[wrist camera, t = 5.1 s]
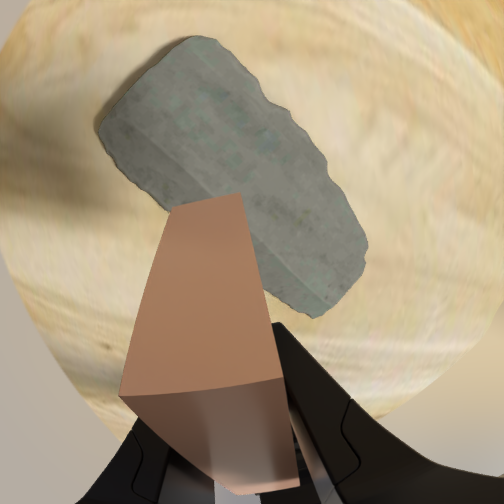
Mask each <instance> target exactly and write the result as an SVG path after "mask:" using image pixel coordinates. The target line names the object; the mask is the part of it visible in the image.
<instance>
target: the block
mask: <svg viewBox="0 0 504 504" xmlns="http://www.w3.org/2000/svg"><path fill="white" fill-rule="evenodd" d="M119 397H120V398H121V399H122V400H123V401H124V402H125V404H126V405H127V406H128V407H129V408H130V409H131V410H132V411H133V412H134V413H135V414H136V415H137V416H138V417H139V418H140V419H141V420H142V421H143V422H144V423H145V424H146V425H148V426H149V427H150V428H151V429H152V430H153V431H154V432H155V433H156V434H157V435H158V436H159V437H161V438H162V439H163V440H164V441H165V442H166V443H167V444H169V445H170V446H171V447H172V448H173V449H174V450H176V451H177V452H178V453H179V454H180V455H182V456H183V457H184V458H185V459H187V460H188V461H189V462H190V463H192V464H193V465H194V466H196V467H197V468H198V469H200V470H201V471H202V472H204V473H205V474H206V475H208V476H209V477H210V478H212V479H213V480H215V481H216V482H218V483H219V484H221V485H222V486H224V487H225V488H227V489H228V490H229V491H231V492H233V493H234V494H236V495H245V494H254V493H262V492H269V491H275V490H281V489H287V488H292V487H297V486H300V482H299V475H298V468H297V462H296V455H295V448H294V442H293V435H292V429H291V422H290V416H289V409H288V403H287V396H286V390H285V384H284V377H283V373H282V369H281V364H280V360H279V356H278V351H277V347H276V343H275V338H274V334H273V330H272V325H271V321H270V317H269V312H268V308H267V304H266V300H265V295H264V291H263V287H262V282H261V278H260V274H259V269H258V265H257V261H256V257H255V252H254V248H253V244H252V240H251V235H250V231H249V227H248V222H247V218H246V214H245V210H244V205H243V201H242V197H241V193H240V192H239V193H234V194H229V195H224V196H220V197H215V198H210V199H206V200H201V201H197V202H192V203H188V204H183V205H179V206H175V207H172V209H171V212H170V215H169V217H168V220H167V223H166V226H165V228H164V231H163V234H162V237H161V240H160V243H159V246H158V249H157V252H156V255H155V258H154V261H153V264H152V267H151V270H150V274H149V277H148V280H147V283H146V287H145V290H144V293H143V297H142V300H141V304H140V307H139V311H138V315H137V318H136V322H135V326H134V330H133V334H132V337H131V341H130V346H129V350H128V354H127V358H126V362H125V367H124V371H123V376H122V381H121V386H120V391H119Z"/></svg>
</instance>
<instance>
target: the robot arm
mask: <svg viewBox="0 0 504 504" xmlns="http://www.w3.org/2000/svg"><path fill="white" fill-rule="evenodd" d="M271 325H272V330H273V334H274V338H275V343H276V347H277V351H278V356H279V360H280V364H281V369H282V373H283V377H284V384H285V390H286V396H287V403H288V409H289V416H290V422H291V429H292V435H293V442H294V448H295V455H296V462H297V468H298V475H299V482H300V486H297V487H292V488H287V489H281V490H275V491H269V492H262V493H255V495H260V500H261V504H504V474H502V475H501V476H499V477H494V476H489V475H483V474H478V473H473V472H468V471H464V470H459V469H456V468H451V467H448V466H444V465H441V464H437V463H435V462H433V461H431V460H429V459H427V458H426V457H424V456H422V455H421V454H420V453H418V452H416V451H415V450H414V449H412V448H411V447H410V446H408V445H407V444H405V443H404V442H403V441H401V440H400V439H399V438H397V437H396V436H395V435H393V434H392V433H391V432H389V431H388V430H387V429H385V428H384V427H383V426H382V425H380V424H379V423H378V422H377V421H376V420H374V419H373V418H372V417H371V416H370V415H369V414H368V413H367V412H366V411H365V410H364V409H363V408H362V407H361V406H360V405H359V404H358V403H357V402H356V401H355V400H354V399H351V396H350V395H349V394H348V393H347V392H346V391H345V390H344V389H343V388H342V387H341V386H340V385H339V384H338V383H337V382H336V381H335V380H334V379H333V378H332V376H331V375H330V374H329V373H328V372H327V371H326V370H325V369H324V368H323V367H322V366H321V365H320V364H319V363H318V362H317V361H316V360H315V359H314V357H313V356H312V355H311V354H310V353H309V352H308V351H307V350H306V349H305V348H304V347H303V346H302V345H301V344H300V342H299V341H298V340H297V339H296V338H295V337H294V336H293V335H292V334H291V333H290V332H289V331H288V330H287V328H286V327H285V326H284V325H283V324H282V323H281V322H276V323H271ZM75 504H215V493H214V480H213V479H212V478H210V477H209V476H208V475H206V474H205V473H204V472H202V471H201V470H200V469H198V468H197V467H196V466H194V465H193V464H192V463H190V462H189V461H188V460H187V459H185V458H184V457H183V456H182V455H180V454H179V453H178V452H177V451H176V450H174V449H173V448H172V447H171V446H170V445H169V444H167V443H166V442H165V441H164V440H163V439H162V438H161V437H159V436H158V435H157V434H156V433H155V432H154V431H153V430H152V429H151V428H150V427H149V426H148V425H146V424H145V423H144V422H143V421H142V420H141V419H140V418H139V417H138V418H137V420H136V422H135V423H134V425H133V427H132V430H130V432H129V433H128V435H127V437H126V438H125V440H124V442H123V443H122V445H121V446H120V448H119V450H118V451H117V453H116V454H115V456H114V457H113V459H112V460H111V462H110V463H109V464H108V465H107V467H106V468H105V470H104V471H103V472H102V473H101V475H100V476H99V477H98V479H97V480H96V481H95V483H94V484H93V485H92V486H91V488H90V489H89V490H88V492H87V493H86V494H85V495H84V496H83V497H82V498H81V499H80V500H79V501H78V502H77V503H75Z"/></svg>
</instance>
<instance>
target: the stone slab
mask: <svg viewBox="0 0 504 504" xmlns="http://www.w3.org/2000/svg"><path fill="white" fill-rule="evenodd" d="M98 133H99V137H100V139H101V140H102V142H103V143H104V145H105V148H106V152H107V154H108V155H110V156H111V157H113V159H114V160H115V162H116V165H117V168H118V169H119V170H120V171H122V172H123V173H124V174H125V175H126V176H127V178H128V179H129V180H130V181H131V182H133V183H135V184H136V185H137V186H138V187H139V188H140V189H141V190H143V191H145V192H147V193H149V194H150V195H151V196H152V197H153V198H154V199H155V200H156V201H157V202H158V203H159V204H160V205H161V206H162V207H163V209H164V210H166V211H169V212H171V209H172V207H175V206H179V205H183V204H188V203H192V202H197V201H201V200H206V199H210V198H215V197H220V196H224V195H229V194H234V193H239V192H240V193H241V197H242V201H243V205H244V210H245V214H246V218H247V222H248V227H249V231H250V235H251V240H252V244H253V248H254V252H255V257H256V261H257V265H258V269H259V274H260V278H261V282H262V287H263V289H265V290H266V291H268V292H270V293H271V294H272V295H274V296H276V297H277V298H279V299H280V300H281V301H282V302H284V303H287V304H288V305H289V306H290V307H291V308H292V309H294V310H296V311H297V312H299V313H306V314H308V315H309V316H310V317H311V318H312V319H314V318H316V317H319V316H322V315H323V314H324V313H325V312H326V311H328V310H329V309H331V308H332V307H333V306H335V305H336V304H337V303H338V302H339V301H340V299H341V298H342V297H343V296H344V295H345V294H346V292H347V291H348V290H349V289H350V288H351V287H352V286H353V284H354V283H355V282H356V281H357V280H358V279H359V278H360V277H361V276H362V274H363V271H364V268H365V264H366V262H365V260H364V256H365V253H366V251H367V249H368V241H367V238H366V234H365V232H364V230H363V228H362V227H361V225H360V224H359V222H358V220H357V218H356V216H355V214H354V212H353V210H352V209H351V207H350V205H349V203H348V201H347V198H346V196H345V194H344V192H343V191H342V190H341V188H340V187H339V186H338V185H337V184H335V183H334V182H333V181H332V180H331V179H330V177H329V175H328V172H327V160H326V158H325V156H324V155H323V154H322V153H321V152H320V151H319V150H318V148H317V147H316V146H315V145H314V144H313V142H312V141H311V139H310V137H309V135H308V134H307V132H306V131H305V130H304V129H302V128H301V127H299V126H298V125H297V124H296V123H295V122H294V121H293V119H292V117H291V114H290V111H288V110H287V109H285V108H283V107H281V106H278V105H276V104H273V103H271V102H269V101H268V100H267V98H266V97H265V96H264V94H263V92H262V90H261V87H260V84H259V82H258V80H257V78H256V77H255V76H253V75H252V74H251V73H250V72H249V71H248V70H247V69H246V67H244V66H243V65H242V64H241V63H240V62H239V61H238V59H237V58H236V57H235V56H234V55H233V54H232V52H231V51H229V50H227V49H225V48H224V47H223V46H221V44H220V43H219V42H218V41H217V40H216V39H213V38H208V37H204V36H193V37H190V38H188V39H186V40H185V41H183V42H182V43H180V44H178V45H177V46H175V47H174V48H173V49H172V50H171V51H170V52H169V53H168V54H166V55H165V56H164V57H163V58H162V59H161V60H160V61H159V62H158V63H157V64H156V65H154V66H153V67H151V68H150V69H148V70H147V71H146V72H145V73H144V74H143V75H142V76H141V77H140V78H139V79H138V80H137V81H136V83H134V84H133V85H132V87H131V88H130V89H129V90H128V91H127V92H126V93H125V94H124V96H123V97H122V98H121V99H120V100H119V101H118V102H117V103H116V104H115V106H114V107H113V108H112V110H111V111H110V112H109V114H108V115H107V116H106V117H105V118H104V119H103V121H102V123H101V126H100V128H99V131H98Z"/></svg>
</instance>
